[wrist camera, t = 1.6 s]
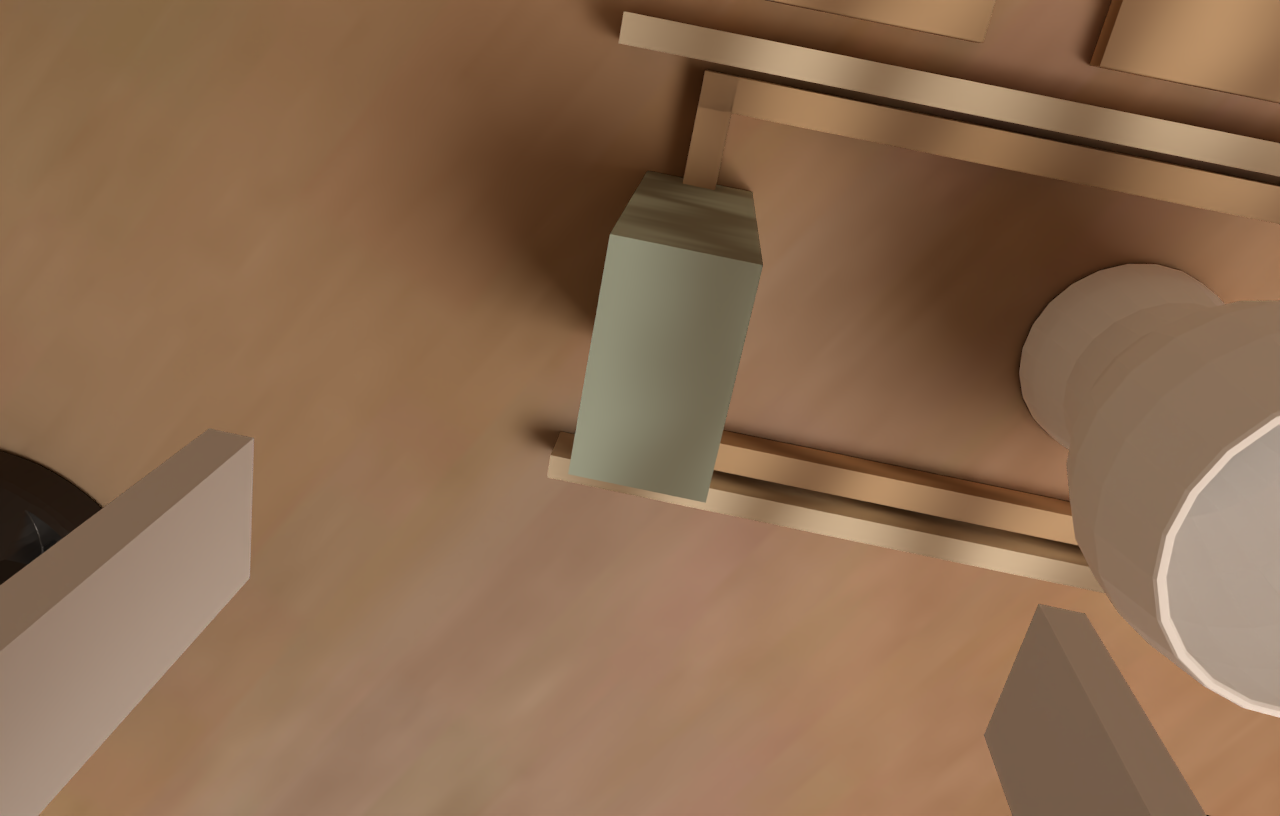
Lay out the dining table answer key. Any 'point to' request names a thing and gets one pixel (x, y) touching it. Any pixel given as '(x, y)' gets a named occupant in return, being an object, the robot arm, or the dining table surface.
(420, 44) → the dining table surface
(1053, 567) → the lane rails
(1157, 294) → the cup
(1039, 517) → the rail with green post
